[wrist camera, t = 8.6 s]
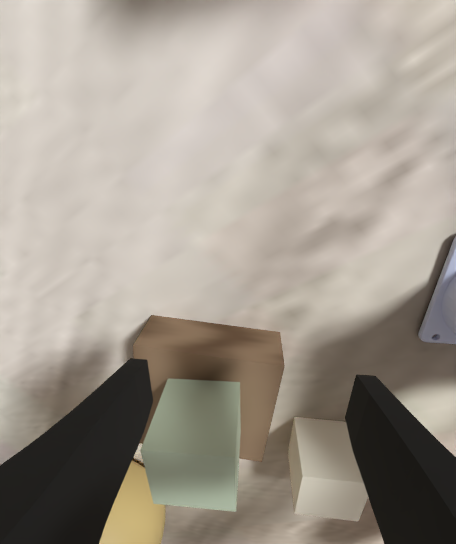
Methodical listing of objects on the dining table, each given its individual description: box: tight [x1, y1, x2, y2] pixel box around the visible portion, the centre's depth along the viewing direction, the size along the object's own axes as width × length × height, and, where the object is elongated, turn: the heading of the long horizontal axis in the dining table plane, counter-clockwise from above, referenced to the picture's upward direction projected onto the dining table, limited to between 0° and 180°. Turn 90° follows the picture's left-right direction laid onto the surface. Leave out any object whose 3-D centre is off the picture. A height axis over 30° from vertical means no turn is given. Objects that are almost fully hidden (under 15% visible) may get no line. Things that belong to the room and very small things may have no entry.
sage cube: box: [141, 379, 241, 512], centre depth 18 cm, size 5×5×5 cm
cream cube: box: [288, 417, 368, 522], centre depth 23 cm, size 5×5×5 cm
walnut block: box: [133, 315, 284, 462], centre depth 22 cm, size 10×10×4 cm
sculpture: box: [99, 461, 165, 544], centre depth 26 cm, size 12×12×11 cm
